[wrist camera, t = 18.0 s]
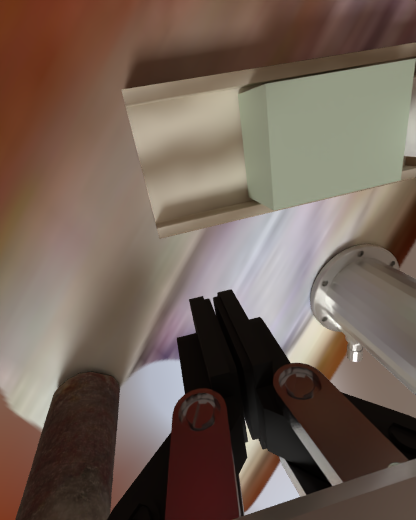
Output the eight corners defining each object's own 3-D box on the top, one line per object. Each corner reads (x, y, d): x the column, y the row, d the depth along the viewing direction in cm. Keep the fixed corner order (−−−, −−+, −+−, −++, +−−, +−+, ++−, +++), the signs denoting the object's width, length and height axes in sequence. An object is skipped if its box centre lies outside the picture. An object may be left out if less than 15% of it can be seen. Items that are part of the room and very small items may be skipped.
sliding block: (355, 172, 30) (400, 180, 25) (248, 196, 29) (273, 210, 23) (360, 73, 26) (415, 58, 21) (237, 94, 25) (265, 83, 20)
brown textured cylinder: (86, 422, 37) (42, 692, 19) (38, 395, 34) (-69, 690, 16) (132, 387, 36) (131, 631, 19) (88, 356, 33) (36, 615, 15)
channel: (411, 169, 33) (481, 178, 27) (157, 229, 29) (164, 257, 22) (428, 44, 28) (520, 16, 22) (122, 94, 24) (118, 79, 17)
